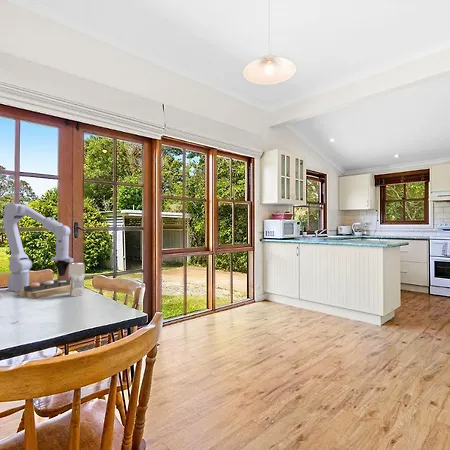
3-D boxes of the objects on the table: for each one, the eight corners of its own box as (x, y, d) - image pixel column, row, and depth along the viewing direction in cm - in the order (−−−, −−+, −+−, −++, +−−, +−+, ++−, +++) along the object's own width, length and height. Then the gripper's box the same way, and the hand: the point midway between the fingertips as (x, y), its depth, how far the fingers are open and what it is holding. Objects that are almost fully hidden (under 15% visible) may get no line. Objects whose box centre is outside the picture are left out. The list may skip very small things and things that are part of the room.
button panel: (18, 295, 145) (18, 285, 145) (59, 287, 164) (59, 279, 164) (36, 298, 139) (36, 288, 139) (77, 290, 158) (77, 281, 158)
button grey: (42, 285, 151) (42, 281, 151) (50, 283, 154) (50, 280, 154) (47, 285, 149) (47, 282, 149) (55, 284, 152) (55, 281, 152)
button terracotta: (27, 287, 144) (27, 283, 144) (36, 286, 148) (36, 282, 148) (33, 288, 143) (33, 284, 143) (41, 287, 146) (41, 283, 146)
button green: (55, 285, 157) (55, 281, 157) (62, 283, 160) (63, 280, 160) (60, 285, 155) (61, 282, 155) (68, 284, 159) (68, 281, 159)
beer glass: (80, 296, 144) (80, 264, 144) (65, 296, 144) (65, 264, 144) (87, 293, 150) (87, 262, 151) (72, 293, 151) (73, 262, 151)
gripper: (78, 249, 158) (78, 275, 158) (60, 248, 165) (59, 273, 165) (66, 250, 152) (66, 277, 152) (47, 248, 158) (47, 275, 158)
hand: (62, 275), depth 158 cm, fingers closed
